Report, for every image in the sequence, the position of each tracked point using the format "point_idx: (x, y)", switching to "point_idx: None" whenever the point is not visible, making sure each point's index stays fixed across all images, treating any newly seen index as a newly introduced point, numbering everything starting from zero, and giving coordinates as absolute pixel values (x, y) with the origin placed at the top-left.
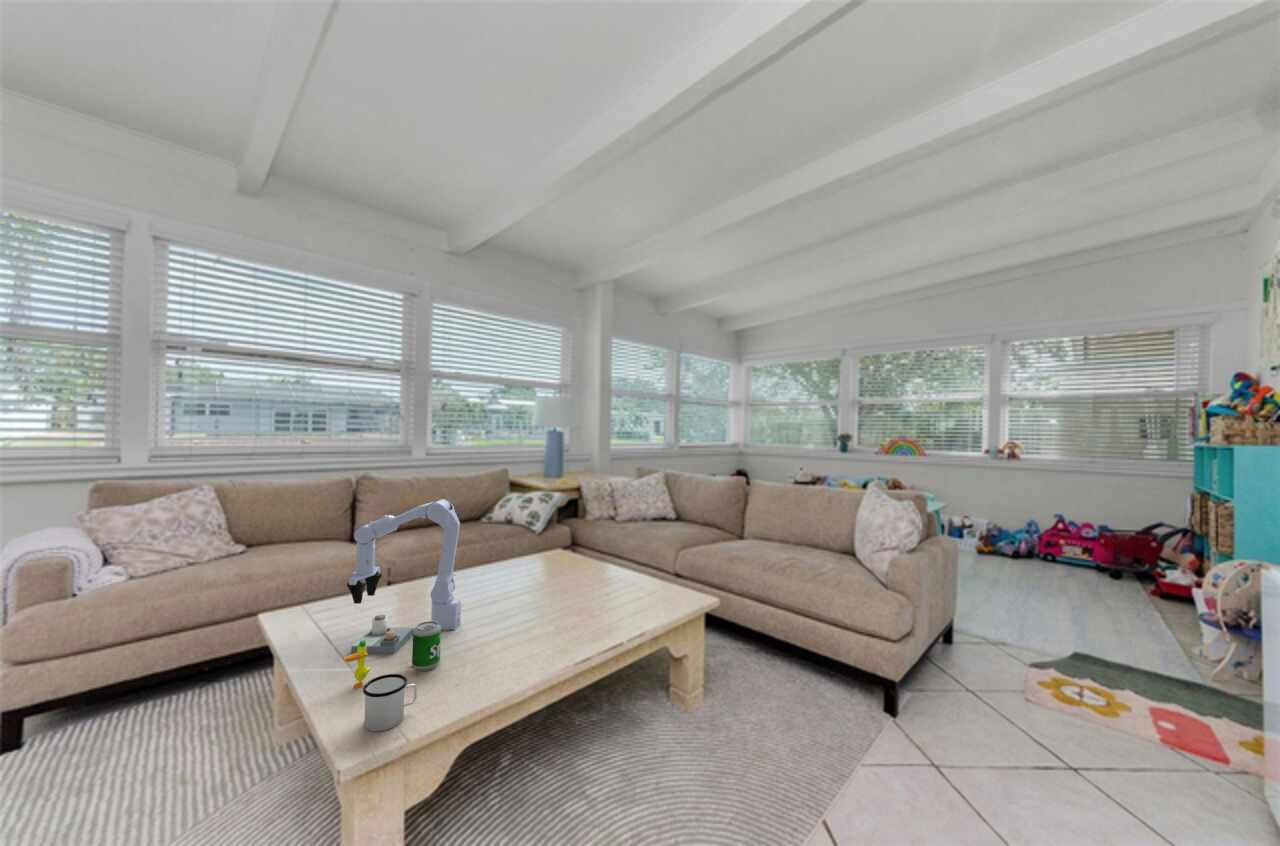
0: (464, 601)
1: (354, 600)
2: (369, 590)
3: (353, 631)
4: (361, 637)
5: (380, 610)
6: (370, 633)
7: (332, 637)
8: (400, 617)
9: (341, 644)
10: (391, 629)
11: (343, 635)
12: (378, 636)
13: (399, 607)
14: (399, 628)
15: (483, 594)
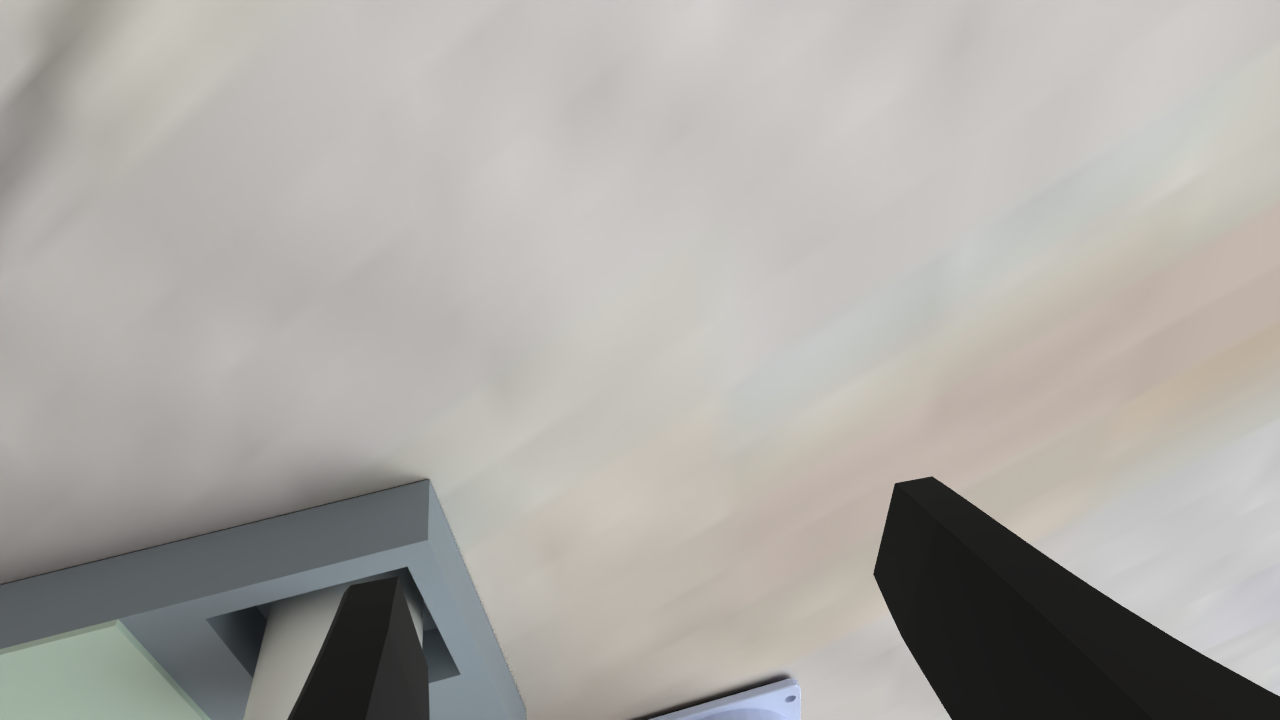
0: (1158, 618)
1: (331, 665)
2: (962, 607)
3: (443, 219)
4: (109, 628)
5: (1143, 87)
6: (298, 583)
7: (144, 66)
8: (885, 428)
9: (40, 355)
10: (438, 686)
11: (280, 180)
12: (241, 705)
13: (1179, 251)
14: (482, 714)
15: (1259, 637)
